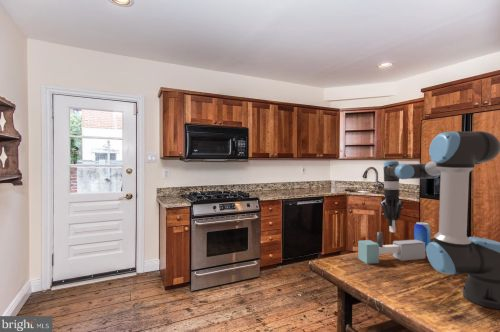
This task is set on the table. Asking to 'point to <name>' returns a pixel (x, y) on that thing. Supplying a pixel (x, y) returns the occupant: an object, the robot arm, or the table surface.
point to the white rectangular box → (410, 250)
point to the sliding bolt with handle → (386, 246)
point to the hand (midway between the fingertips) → (392, 231)
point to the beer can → (422, 232)
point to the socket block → (368, 251)
